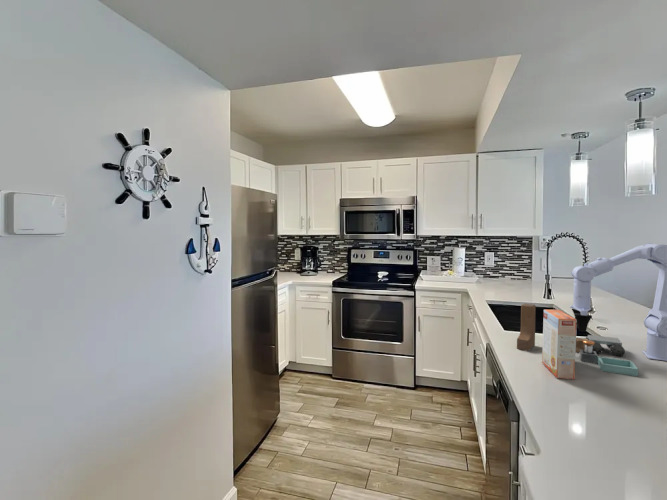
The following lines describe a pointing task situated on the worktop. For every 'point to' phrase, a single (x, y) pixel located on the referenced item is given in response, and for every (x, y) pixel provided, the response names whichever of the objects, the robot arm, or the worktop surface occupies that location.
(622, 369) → the tray
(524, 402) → the worktop surface
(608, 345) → the trolley
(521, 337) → the wooden block
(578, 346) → the block
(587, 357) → the bracket
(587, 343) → the pin
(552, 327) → the cracker box
